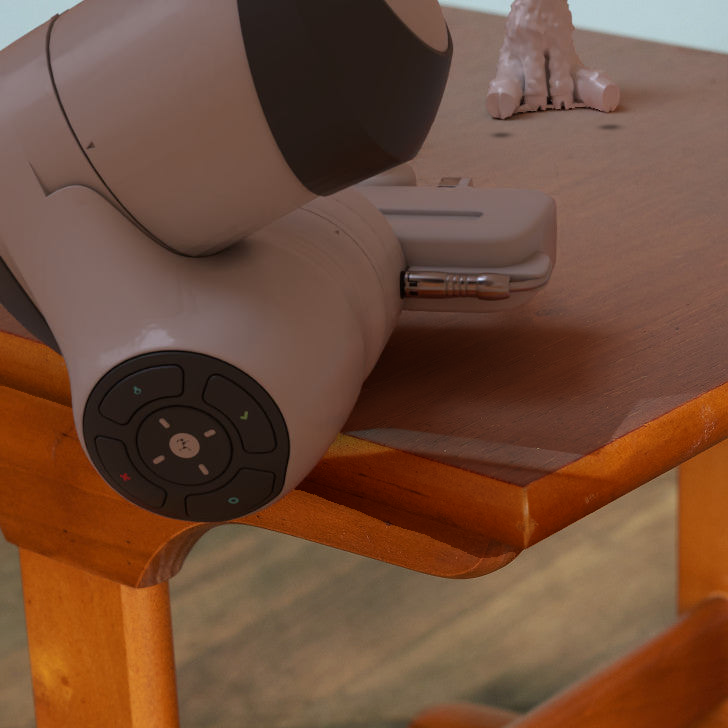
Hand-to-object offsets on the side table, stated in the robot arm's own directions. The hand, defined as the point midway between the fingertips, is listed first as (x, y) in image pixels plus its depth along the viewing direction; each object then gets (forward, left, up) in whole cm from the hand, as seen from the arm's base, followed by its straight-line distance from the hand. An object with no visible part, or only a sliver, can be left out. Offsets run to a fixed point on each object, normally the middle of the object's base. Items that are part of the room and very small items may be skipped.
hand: (363, 191), depth 82 cm
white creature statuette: (+29, +26, -5) cm, 40 cm away
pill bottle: (+1, +1, -5) cm, 5 cm away
